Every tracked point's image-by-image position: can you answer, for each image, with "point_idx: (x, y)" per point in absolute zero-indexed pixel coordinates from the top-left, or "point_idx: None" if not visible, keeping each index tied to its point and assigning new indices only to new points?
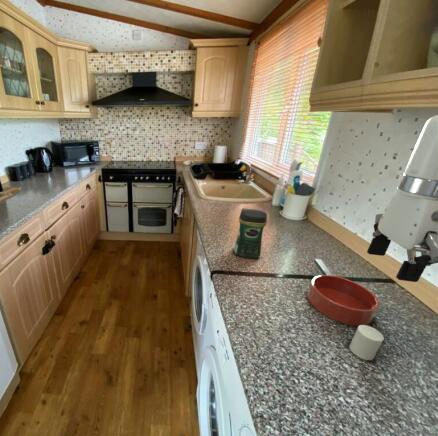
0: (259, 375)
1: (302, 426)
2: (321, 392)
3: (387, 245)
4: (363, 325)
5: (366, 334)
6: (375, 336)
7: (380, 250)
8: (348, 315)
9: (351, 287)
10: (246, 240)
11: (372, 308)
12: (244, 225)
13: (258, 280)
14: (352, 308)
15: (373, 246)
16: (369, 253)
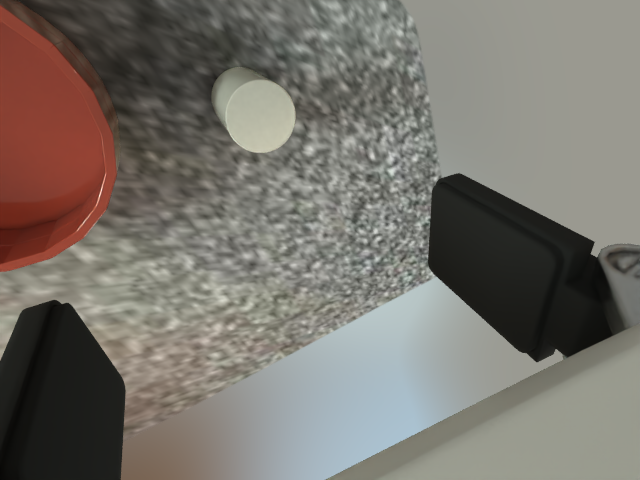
0: (384, 285)
1: None
2: (388, 201)
3: (43, 414)
4: (233, 132)
5: (278, 134)
6: (274, 107)
7: (84, 377)
8: (116, 131)
9: None
10: None
11: (27, 38)
12: None
13: None
14: (102, 134)
15: (119, 455)
16: (124, 387)
